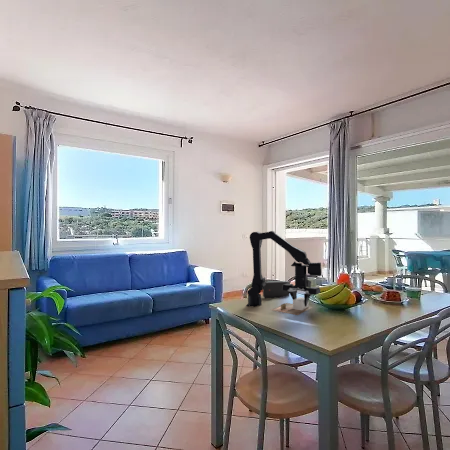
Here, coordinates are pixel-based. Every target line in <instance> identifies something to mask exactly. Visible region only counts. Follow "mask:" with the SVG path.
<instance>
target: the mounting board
mask: <svg viewBox="0 0 450 450" xmlns="http://www.w3.org/2000/svg"><path fill="white" fill-rule="evenodd" d="M313 308H314V307H313V306H309V307H308V308H306V309H304V310H297V309H293V303H289V302H285V303H282V304H280V305H278V306H276V307H274V308H271V309H270V311H273V312H278V313H283V314H289V315H295V316H300V315H301V314H304V313H305V312H307V311H309V310H311V309H313Z"/></svg>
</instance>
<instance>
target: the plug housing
mask: <svg viewBox="0 0 450 450" xmlns="http://www.w3.org/2000/svg"><path fill="white" fill-rule="evenodd" d="M309 301H310V299H309V300H308V303H307V306H306V307H305V304H304V296H298V297H297V298H296V299H294V300H293V299H292V304H293V309H297V310H304V309H306V308H308V307H310V305H309V303H310V302H309Z"/></svg>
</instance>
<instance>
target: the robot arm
mask: <svg viewBox="0 0 450 450" xmlns="http://www.w3.org/2000/svg"><path fill="white" fill-rule="evenodd" d="M269 239H270V240H272V241H273V242H274V243H275V244H277V245H278V246H279V247H281V248H282V249H284V250H285V251H286V252H287V253H288V254H289V255H290V256H291V257H292V258H293V259H294V261H293V263H292V264H291V265H290V266H291V267H294V277H293V280H294V283H295V284H293V283H289V284H288V283H287V284H284V285H283V286H282V290H285V291H288V293H289V296H291V298H292V301H293V300H294V299H296V298H298V297H297V293H298V291H300V292H305V293H304V294H303V298H304V304H305V307H306V306H307V303H308V300H309V301H310V298H311V296H312V295H316V296H317V295H319V294H321V288H320V286H311V285H312V281H311V280H310V279H308V276H307V274H308V275H309V276H311V277H312V276H313V277H322V262H319V261H318V262H312V261H310V259H308V256H307V252H306V251H304V250H302V249H301V248H298V247H296V246H294V245H292V244H291V243H290V242H288V241H287V240H286V239H284V238H283V237H282V236H281V235H279V234H278V233H276V232H275V231H274V230H270V231H265V232H260V231H253V232H251V233H250V235H249V241H250V246H251V248H252V261H253V262H252V264H253V267H252V268H253V277H252V280H251V281H252V282H251V287H250V288H249V289H248V290H247V292H246V293H247V297H248V298H247V304H246V306H247V307H252V308H256V307H257V306H259V307H260V306H262V304H263V303H262V294H261V293H262V292H263V289H264V286H265V285H266V284H265V282H266V277H263V274H262V251H261V249H262V245H263V244H262V243H263V240H269Z"/></svg>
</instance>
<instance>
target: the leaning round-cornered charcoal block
mask: <svg viewBox="0 0 450 450" xmlns="http://www.w3.org/2000/svg"><path fill="white" fill-rule="evenodd" d="M287 283H288V284H290V281H289V282H288V281H287V280H286V281H285V280H272V281H271V280H269V281H265V284H266V285H265V286H264V289H263V290H262V297H263V298H264V299H270V298H271V299H272V298H273V299H274V297H278V298H281V297H289V296H290V293H288V291H285V290H282V286H283V285H284V284H287Z"/></svg>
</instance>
